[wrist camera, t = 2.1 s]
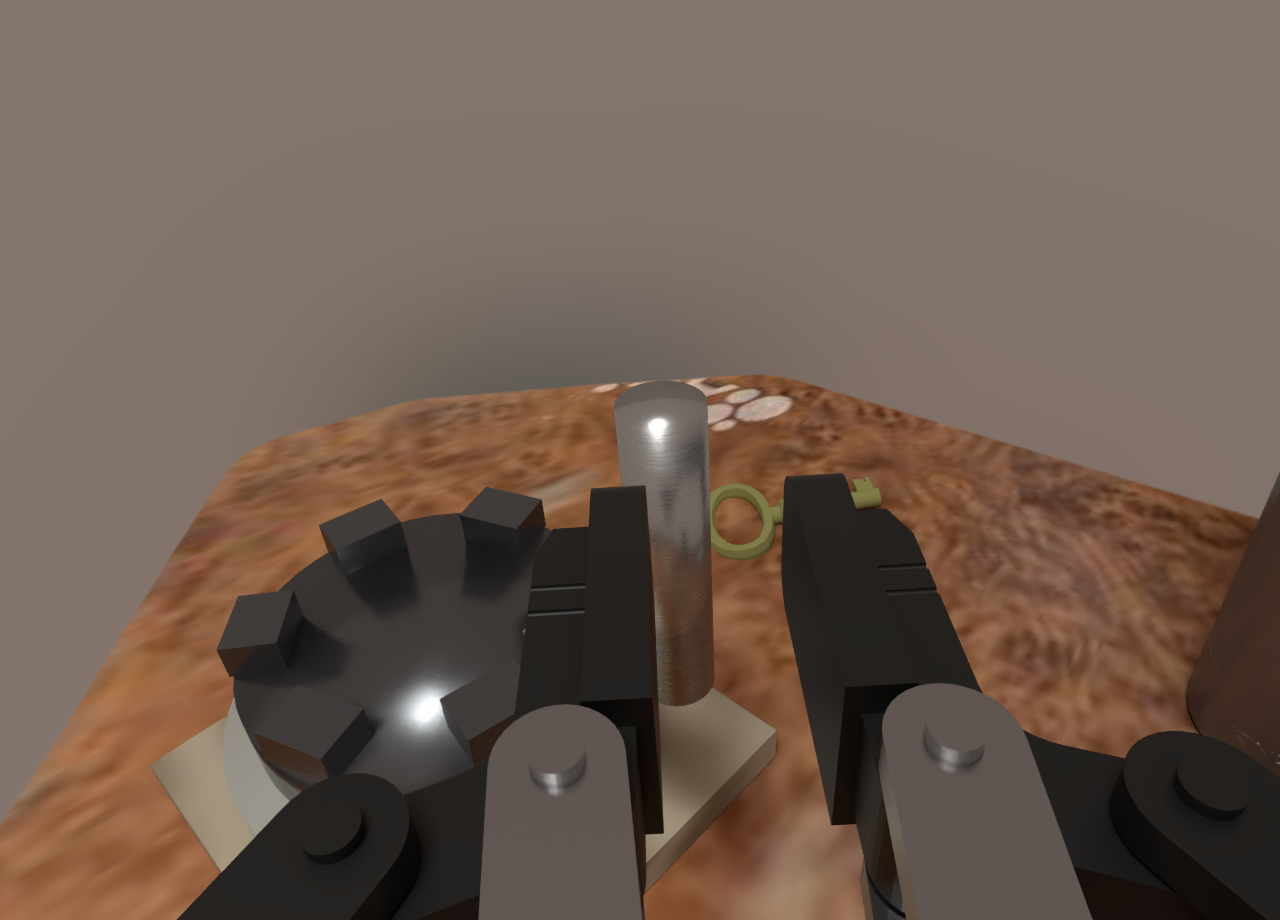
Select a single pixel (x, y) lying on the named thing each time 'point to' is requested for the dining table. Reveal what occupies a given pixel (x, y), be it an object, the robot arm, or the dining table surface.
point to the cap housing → (248, 777)
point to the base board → (692, 799)
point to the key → (770, 516)
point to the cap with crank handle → (456, 618)
